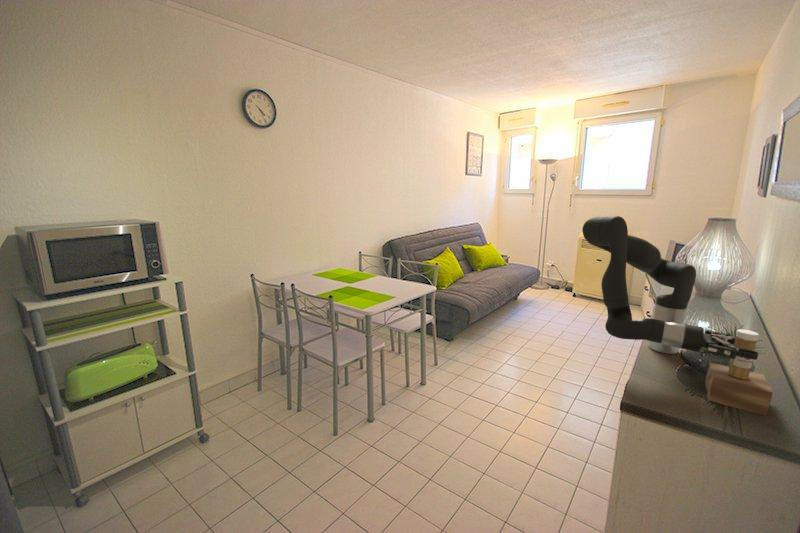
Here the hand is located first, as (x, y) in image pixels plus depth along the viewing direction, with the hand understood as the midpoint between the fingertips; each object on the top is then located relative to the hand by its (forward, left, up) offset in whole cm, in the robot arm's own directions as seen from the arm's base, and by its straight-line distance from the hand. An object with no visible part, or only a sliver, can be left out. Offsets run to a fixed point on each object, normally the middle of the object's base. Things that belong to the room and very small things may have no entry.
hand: (754, 350), depth 100 cm
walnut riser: (0, -2, -16) cm, 16 cm away
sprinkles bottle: (0, -2, -9) cm, 9 cm away
